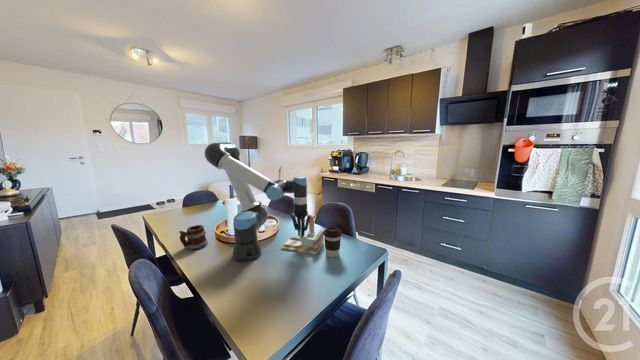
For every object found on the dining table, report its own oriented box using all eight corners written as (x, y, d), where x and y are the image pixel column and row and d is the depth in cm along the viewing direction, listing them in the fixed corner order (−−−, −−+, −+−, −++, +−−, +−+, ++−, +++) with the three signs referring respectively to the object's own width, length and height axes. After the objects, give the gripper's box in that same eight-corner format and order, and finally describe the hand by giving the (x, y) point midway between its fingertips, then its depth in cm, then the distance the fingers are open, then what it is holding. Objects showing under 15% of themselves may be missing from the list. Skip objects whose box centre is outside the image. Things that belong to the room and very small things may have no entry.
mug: (213, 243, 135) (207, 221, 130) (191, 257, 123) (184, 234, 119) (202, 239, 141) (195, 218, 136) (180, 252, 129) (172, 230, 124)
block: (301, 246, 126) (301, 238, 125) (306, 240, 134) (306, 232, 133) (314, 248, 124) (314, 239, 123) (319, 242, 132) (318, 234, 131)
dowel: (308, 239, 139) (308, 217, 137) (310, 237, 142) (310, 215, 140) (313, 239, 138) (313, 217, 136) (315, 237, 141) (314, 215, 139)
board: (280, 249, 127) (280, 235, 126) (290, 238, 140) (290, 226, 139) (316, 254, 121) (316, 240, 119) (323, 243, 134) (323, 230, 133)
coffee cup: (340, 259, 115) (340, 233, 112) (322, 258, 117) (321, 231, 114) (342, 250, 124) (342, 226, 122) (325, 249, 126) (325, 224, 124)
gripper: (287, 204, 125) (289, 242, 129) (308, 205, 121) (309, 245, 125) (293, 200, 132) (294, 237, 136) (313, 202, 128) (313, 239, 132)
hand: (301, 241), depth 130 cm, fingers closed
